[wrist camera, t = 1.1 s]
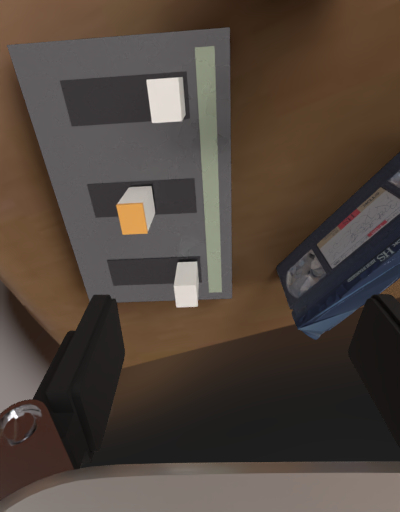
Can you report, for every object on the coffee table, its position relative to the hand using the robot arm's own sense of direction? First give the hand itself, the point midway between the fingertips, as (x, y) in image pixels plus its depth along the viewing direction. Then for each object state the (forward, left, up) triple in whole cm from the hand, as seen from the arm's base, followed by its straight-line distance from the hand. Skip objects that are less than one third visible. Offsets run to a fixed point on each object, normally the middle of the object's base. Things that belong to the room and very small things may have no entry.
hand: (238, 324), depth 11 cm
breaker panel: (+7, +1, -21) cm, 22 cm away
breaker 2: (+4, +9, -17) cm, 20 cm away
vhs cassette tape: (-13, +5, -21) cm, 25 cm away
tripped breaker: (+7, +1, -17) cm, 19 cm away
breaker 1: (+4, -7, -17) cm, 19 cm away
